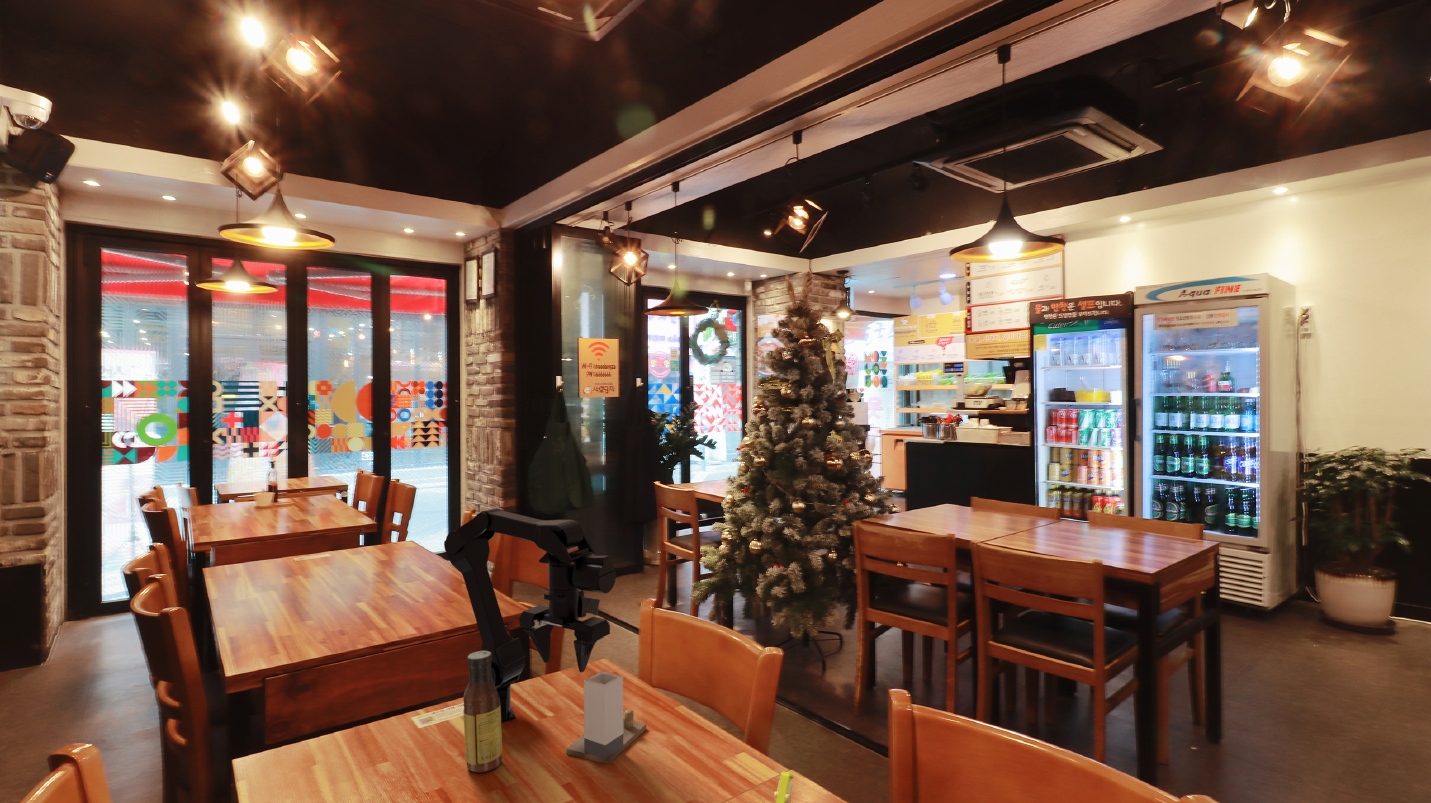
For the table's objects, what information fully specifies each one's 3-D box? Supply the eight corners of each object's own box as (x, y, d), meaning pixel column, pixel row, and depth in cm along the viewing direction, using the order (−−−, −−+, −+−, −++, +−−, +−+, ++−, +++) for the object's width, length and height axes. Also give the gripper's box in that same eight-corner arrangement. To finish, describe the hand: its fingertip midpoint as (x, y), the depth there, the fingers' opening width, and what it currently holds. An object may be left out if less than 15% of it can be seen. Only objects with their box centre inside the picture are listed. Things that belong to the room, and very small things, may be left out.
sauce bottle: (507, 756, 126) (507, 648, 125) (493, 775, 119) (492, 661, 119) (473, 755, 126) (472, 647, 126) (457, 773, 120) (456, 660, 120)
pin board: (566, 754, 127) (566, 732, 127) (606, 720, 139) (606, 700, 139) (608, 764, 123) (608, 741, 123) (646, 728, 136) (646, 708, 136)
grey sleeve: (584, 751, 125) (583, 680, 125) (602, 739, 130) (602, 671, 130) (605, 759, 123) (604, 686, 123) (623, 747, 127) (623, 676, 127)
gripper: (627, 583, 136) (628, 662, 136) (557, 571, 146) (557, 645, 146) (590, 598, 126) (590, 683, 127) (517, 584, 136) (517, 662, 136)
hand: (564, 666), depth 134 cm, fingers open, 9 cm apart
